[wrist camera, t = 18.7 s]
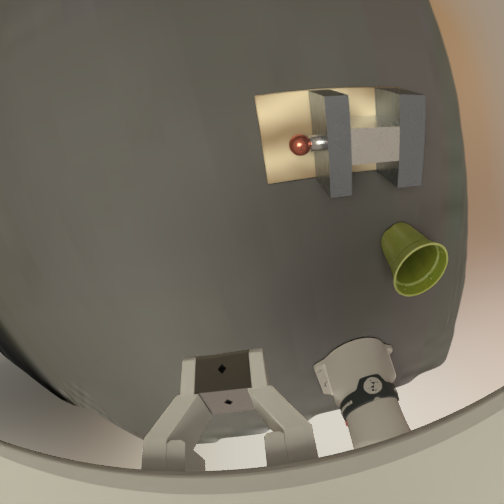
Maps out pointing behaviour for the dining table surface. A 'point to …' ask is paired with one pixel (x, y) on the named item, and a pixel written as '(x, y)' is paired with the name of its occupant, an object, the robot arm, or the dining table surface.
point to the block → (374, 140)
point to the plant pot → (413, 259)
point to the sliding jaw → (328, 141)
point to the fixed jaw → (403, 134)
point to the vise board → (300, 129)
